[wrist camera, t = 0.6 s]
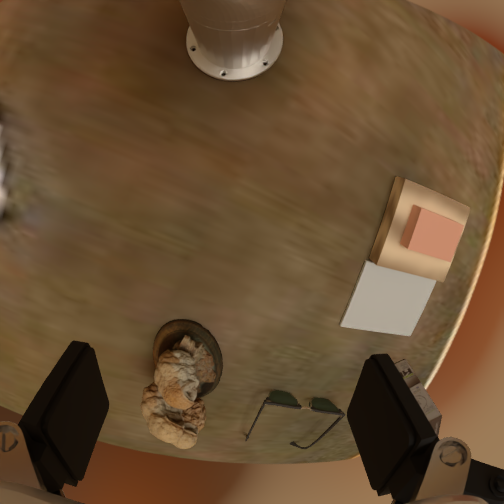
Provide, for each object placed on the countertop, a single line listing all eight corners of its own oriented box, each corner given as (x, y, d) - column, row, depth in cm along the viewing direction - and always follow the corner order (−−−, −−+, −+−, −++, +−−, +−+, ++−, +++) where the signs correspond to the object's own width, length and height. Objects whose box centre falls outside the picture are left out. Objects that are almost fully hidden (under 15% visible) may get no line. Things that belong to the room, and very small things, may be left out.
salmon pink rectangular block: (413, 204, 40) (421, 208, 37) (455, 221, 41) (464, 225, 38) (399, 243, 42) (407, 249, 39) (442, 256, 43) (450, 262, 40)
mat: (365, 259, 45) (366, 261, 45) (435, 277, 47) (437, 279, 47) (339, 324, 49) (340, 326, 48) (408, 334, 51) (410, 335, 50)
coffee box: (376, 371, 53) (408, 431, 38) (405, 358, 53) (442, 414, 38) (381, 398, 56) (408, 455, 41) (407, 386, 56) (438, 439, 41)
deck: (395, 176, 41) (405, 178, 38) (459, 203, 43) (470, 208, 40) (368, 257, 45) (376, 265, 42) (434, 275, 47) (443, 282, 44)
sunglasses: (233, 433, 58) (233, 451, 53) (263, 382, 53) (265, 401, 48) (302, 444, 61) (306, 460, 56) (340, 396, 56) (346, 414, 51)
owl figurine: (227, 397, 54) (225, 472, 38) (165, 396, 53) (149, 468, 37) (218, 317, 48) (210, 396, 32) (145, 317, 47) (112, 391, 31)
